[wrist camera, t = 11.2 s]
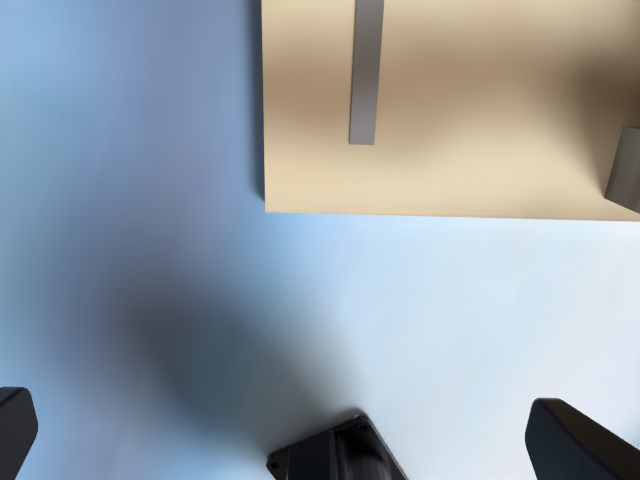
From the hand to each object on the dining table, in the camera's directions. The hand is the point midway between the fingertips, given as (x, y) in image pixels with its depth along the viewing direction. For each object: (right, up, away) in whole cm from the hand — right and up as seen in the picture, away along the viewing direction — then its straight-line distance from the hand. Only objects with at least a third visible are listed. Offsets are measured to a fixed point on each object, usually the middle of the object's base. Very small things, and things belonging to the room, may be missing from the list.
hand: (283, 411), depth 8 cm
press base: (+9, +15, +8) cm, 19 cm away
